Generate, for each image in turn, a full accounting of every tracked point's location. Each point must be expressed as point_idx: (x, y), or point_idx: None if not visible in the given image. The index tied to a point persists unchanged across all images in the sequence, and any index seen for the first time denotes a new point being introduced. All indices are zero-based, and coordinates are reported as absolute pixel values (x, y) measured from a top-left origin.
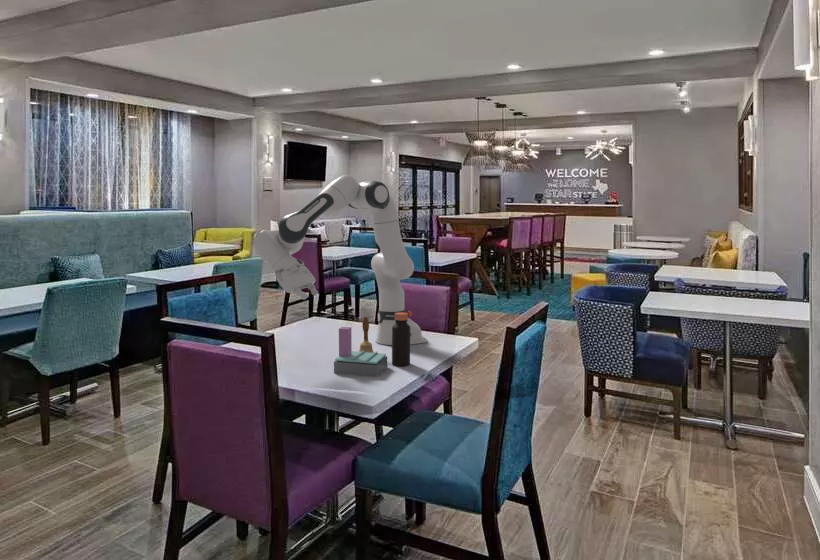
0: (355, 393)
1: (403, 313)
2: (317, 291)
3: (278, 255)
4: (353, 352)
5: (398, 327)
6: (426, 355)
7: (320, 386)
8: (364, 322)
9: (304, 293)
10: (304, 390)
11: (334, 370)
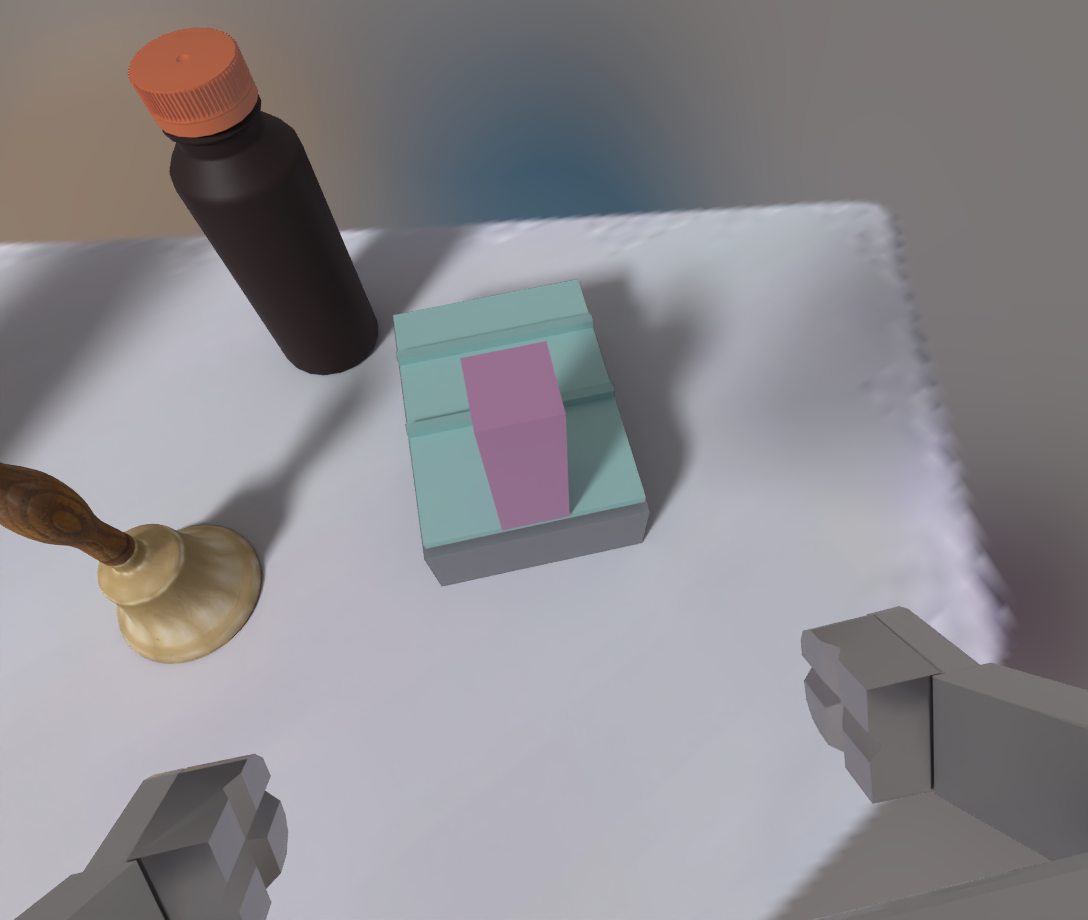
0: (817, 310)
1: (177, 49)
2: (143, 794)
3: None
4: (443, 483)
5: (291, 141)
6: (91, 324)
7: (849, 491)
8: (40, 490)
9: (914, 664)
10: (958, 524)
11: (643, 529)
